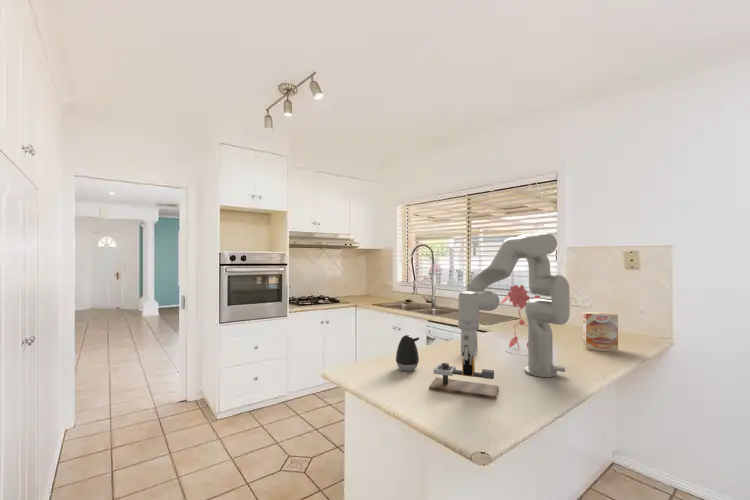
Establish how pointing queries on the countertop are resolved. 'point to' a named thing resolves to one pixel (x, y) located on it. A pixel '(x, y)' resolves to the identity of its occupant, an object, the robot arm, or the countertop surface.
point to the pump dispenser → (407, 354)
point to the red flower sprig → (518, 297)
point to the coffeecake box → (600, 331)
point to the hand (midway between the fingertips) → (468, 373)
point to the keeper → (463, 387)
